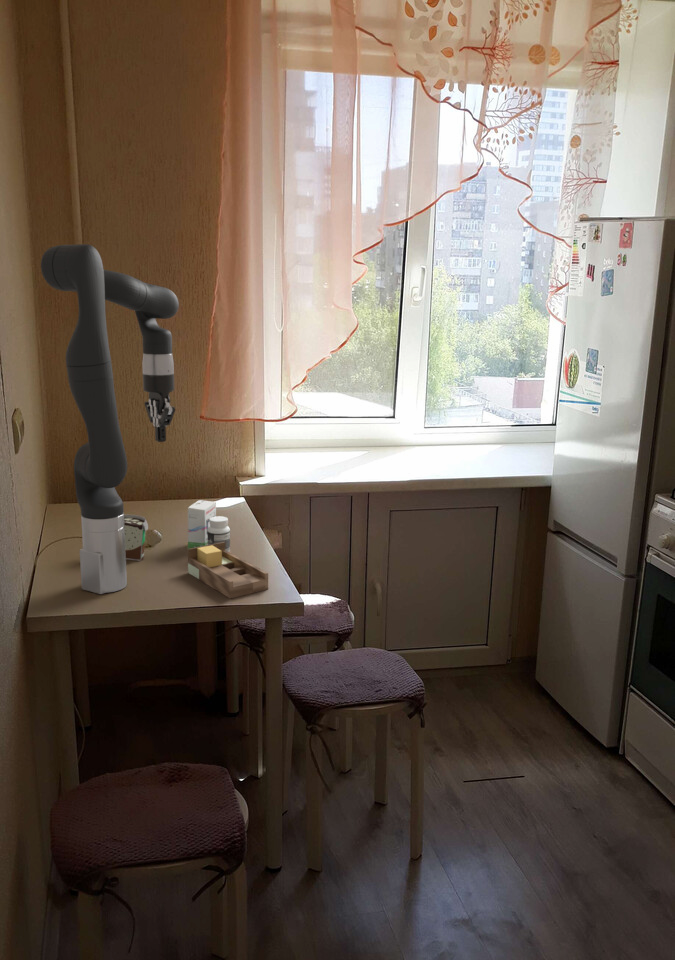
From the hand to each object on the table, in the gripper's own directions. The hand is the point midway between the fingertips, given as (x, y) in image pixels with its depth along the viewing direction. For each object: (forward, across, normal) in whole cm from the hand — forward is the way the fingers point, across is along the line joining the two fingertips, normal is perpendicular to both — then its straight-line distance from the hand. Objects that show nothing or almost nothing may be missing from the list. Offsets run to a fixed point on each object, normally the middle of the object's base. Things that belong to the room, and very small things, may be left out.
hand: (160, 441), depth 208 cm
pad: (+29, -21, -2) cm, 36 cm away
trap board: (+29, -28, -3) cm, 40 cm away
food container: (+29, +2, +8) cm, 30 cm away
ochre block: (+26, -21, -2) cm, 34 cm away
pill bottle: (+29, -11, -10) cm, 33 cm away
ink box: (+29, -3, -10) cm, 31 cm away
